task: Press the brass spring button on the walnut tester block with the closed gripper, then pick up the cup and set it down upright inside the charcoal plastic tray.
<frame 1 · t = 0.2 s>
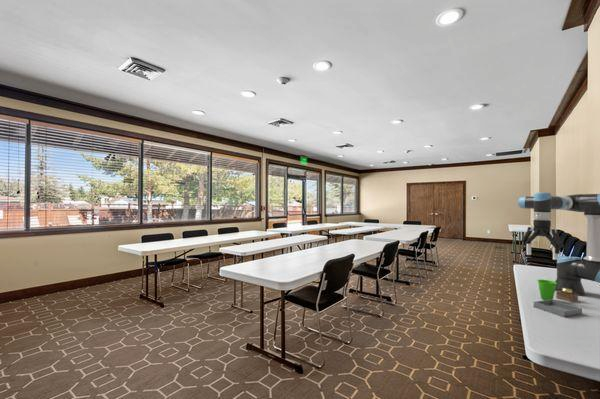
hand: (541, 257, 159), 28 cm above the table, tool pointing down, fingers open, 13 cm apart
cup: (546, 300, 170), on the table
tray: (557, 310, 152), on the table
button: (567, 291, 171), point 5 cm above the table, slide at 0.0 cm
tester block: (566, 299, 171), on the table
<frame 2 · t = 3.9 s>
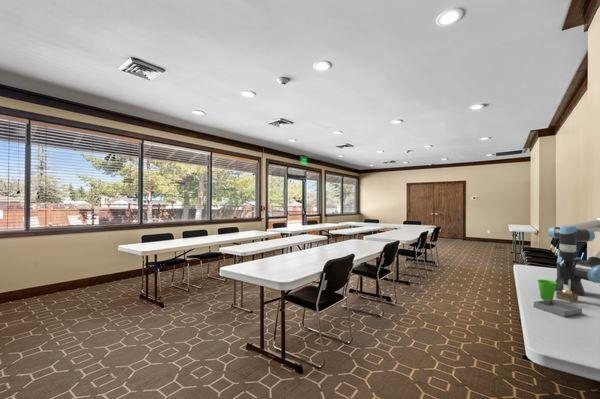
hand: (566, 289, 171), 6 cm above the table, tool pointing down, fingers closed
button: (567, 292, 171), point 4 cm above the table, slide at 1.0 cm, touching gripper
everything else where it was.
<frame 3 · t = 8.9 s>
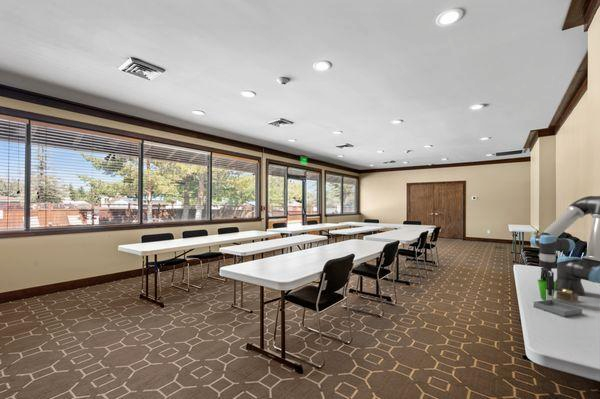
hand: (546, 298, 170), 1 cm above the table, tool pointing down, fingers closed on cup, 9 cm apart
cup: (546, 300, 170), on the table, touching gripper
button: (567, 292, 171), point 4 cm above the table, slide at 0.6 cm
when the fingers open (3 cm above the table, at t = 14.7 s): cup drops 2 cm, resting on tray.
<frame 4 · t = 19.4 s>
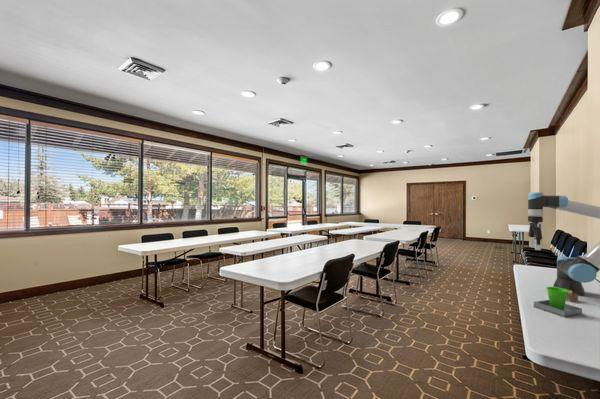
hand: (534, 248, 184), 29 cm above the table, tool pointing down, fingers open, 13 cm apart
cup: (557, 309, 152), resting on tray
everything else where it was.
at the end: cup 0.1 cm off-centre on the tray, point 0.4 cm above the tray's base; cup tilted 0°; the gripper is holding nothing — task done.
